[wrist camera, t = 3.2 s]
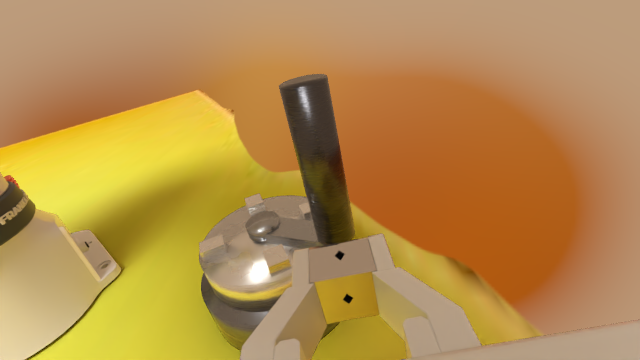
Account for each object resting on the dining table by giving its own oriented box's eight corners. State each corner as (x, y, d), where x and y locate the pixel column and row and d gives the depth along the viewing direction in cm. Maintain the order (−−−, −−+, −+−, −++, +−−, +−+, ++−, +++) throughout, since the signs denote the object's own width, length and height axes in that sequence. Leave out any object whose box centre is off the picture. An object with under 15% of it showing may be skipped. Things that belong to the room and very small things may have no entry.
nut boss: (198, 289, 35) (179, 254, 33) (311, 222, 42) (302, 189, 39) (252, 393, 24) (231, 353, 22) (393, 281, 31) (388, 241, 29)
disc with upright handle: (183, 294, 29) (86, 124, 21) (257, 213, 38) (208, 74, 30) (333, 337, 22) (273, 116, 15) (379, 227, 32) (357, 55, 24)
